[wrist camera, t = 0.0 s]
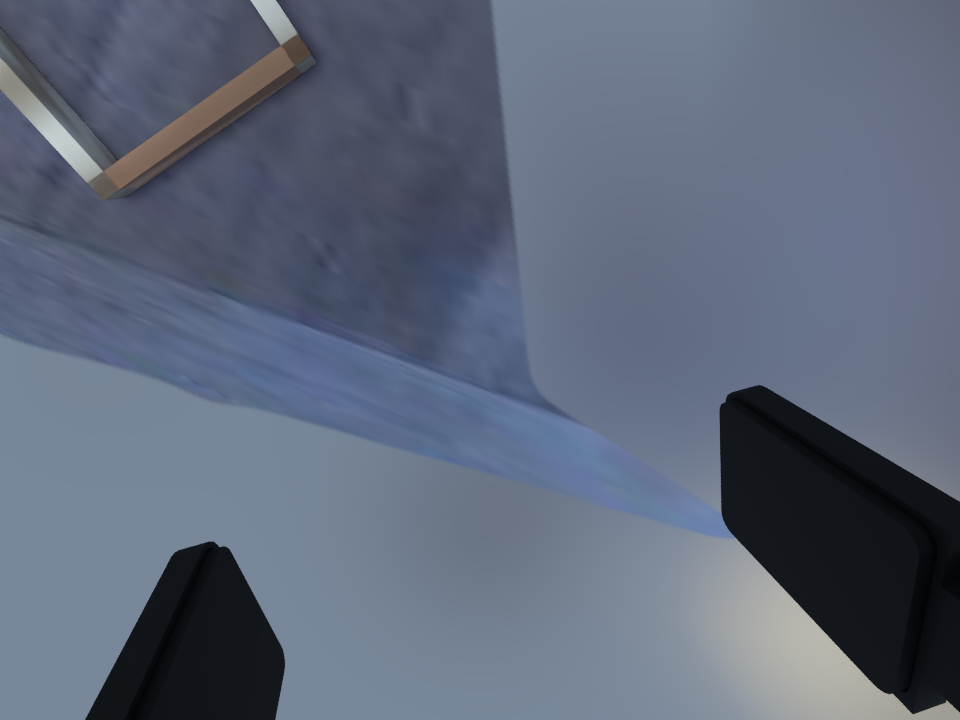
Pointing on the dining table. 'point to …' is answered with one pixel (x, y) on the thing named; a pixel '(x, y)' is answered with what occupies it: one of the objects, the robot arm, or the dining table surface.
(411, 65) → the dining table surface
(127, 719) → the robot arm
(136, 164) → the bay
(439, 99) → the dining table surface
